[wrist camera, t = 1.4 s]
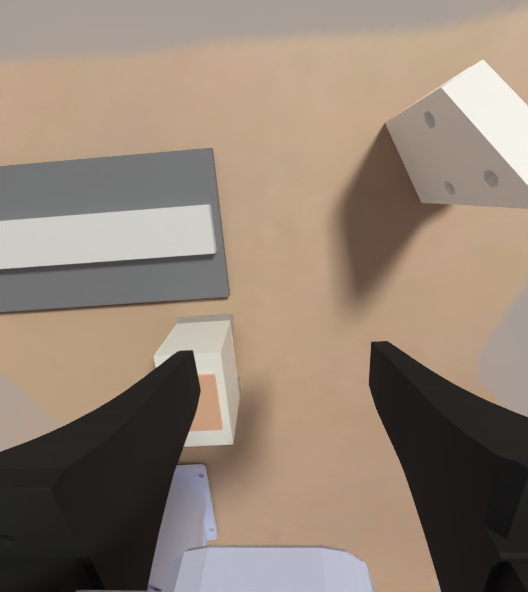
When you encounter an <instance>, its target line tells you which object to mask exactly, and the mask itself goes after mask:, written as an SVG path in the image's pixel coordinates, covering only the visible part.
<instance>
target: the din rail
mask: <svg viewBox="0 0 528 592" xmlns="http://www.w3.org/2000/svg"><path fill="white" fill-rule="evenodd" d="M229 296H230V291H229V283H228V274H227V265H226V257H225V248H224V240H223V231H222V223H221V214H220V206H219V197H218V189H217V180H216V171H215V163H214V154H213V149H212V148H205V149H193V150H182V151H170V152H159V153H147V154H136V155H124V156H113V157H101V158H90V159H78V160H67V161H55V162H44V163H32V164H21V165H9V166H0V312H9V311H24V310H39V309H54V308H69V307H83V306H98V305H113V304H128V303H143V302H157V301H172V300H187V299H202V298H217V297H229Z"/></svg>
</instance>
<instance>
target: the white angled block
mask: <svg viewBox="0 0 528 592" xmlns="http://www.w3.org/2000/svg"><path fill="white" fill-rule="evenodd" d="M385 124H386V127H387V129H388V131H389V133H390V135H391V138H392V140H393V142H394V144H395V146H396V148H397V151H398V153H399V155H400V157H401V159H402V162H403V164H404V166H405V168H406V170H407V173H408V175H409V177H410V179H411V181H412V183H413V186H414V188H415V190H416V192H417V194H418V197H419V199H420V201H421V203H433V204H452V205H471V206H489V207H508V208H527V209H528V106H527V105H526V104H525V102H524V101H523V100H522V99H521V98H520V97H519V96H518V95H517V94H516V93H515V92H514V91H513V90H512V89H511V88H510V87H509V86H508V85H507V84H506V83H505V82H504V81H503V80H502V79H501V78H500V77H499V76H498V75H497V74H496V73H495V71H494V70H493V69H492V68H491V67H490V66H489V65H488V64H487V63H486V62H485V61H484V60H482V61H480V62H478V63H477V64H475V65H474V66H472V67H469V68H467V69H466V70H464V71H463V72H461V73H460V74H458V75H456V76H455V77H453V78H452V79H450V80H449V81H447V82H445V83H444V84H442V85H441V86H439V87H438V88H436V89H435V90H433V91H432V92H430V93H429V94H427V95H426V96H424V97H423V98H421V99H420V100H418V101H417V102H415V103H414V104H412V105H411V106H409V107H408V108H406V109H405V110H403V111H402V112H400V113H399V114H397V115H396V116H394V117H393V118H391V119H390V120H388V121H387V122H385Z"/></svg>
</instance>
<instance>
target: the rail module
mask: <svg viewBox="0 0 528 592" xmlns="http://www.w3.org/2000/svg"><path fill="white" fill-rule="evenodd" d="M233 330H234V325H233V316H232V314H226V315H210V316H195V317H181V318H180V320H179V321H178V322H177V324H176V325H175V327H174V328H173V330H172V331H171V332H170V334H169V335H168V337H167V338H166V339H165V341H164V342H163V344H162V345H161V346H160V348H159V349H158V351H157V352H156V353H155V355H154V356H153V357H154V361H155V366H156V368H157V367H158V366H159V365H161V364H162V363H163V362H164V361H166V360H167V359H168V358H169V357H171V356H172V355H173V354H175V353H176V352H178V351H183V350H193V352H194V357H195V362H196V368H197V373H198V378H199V383H200V388H201V393H200V397H199V402H198V406H197V411H196V414H195V417H194V420H193V423H192V425H191V428H190V431H189V433H188V436H187V439H186V442H185V444H184V447H191V446H211V445H232V444H233V442H234V435H235V428H236V421H237V414H238V407H239V400H240V393H241V384H240V377H237V371H236V363H235V354H234V346H233V338H232V334H233Z"/></svg>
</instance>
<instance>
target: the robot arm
mask: <svg viewBox="0 0 528 592" xmlns="http://www.w3.org/2000/svg"><path fill="white" fill-rule="evenodd" d="M369 387H370V390H371V394H372V397H373V400H374V403H375V407H376V409H377V411H378V414H379V416H380V418H381V420H382V423H383V425H384V427H385V429H386V432H387V434H388V436H389V438H390V440H391V443H392V445H393V447H394V449H395V451H396V454H397V456H398V458H399V460H400V463H401V465H402V468H403V470H404V473H405V476H406V479H407V482H408V485H409V488H410V491H411V493H412V496H413V499H414V503H415V506H416V509H417V512H418V515H419V518H420V521H421V524H422V528H423V531H424V534H425V537H426V541H427V544H428V547H429V551H430V554H431V557H432V561H433V564H434V568H435V571H436V575H437V578H438V582H439V585H440V589H441V592H528V417H526V416H523V415H521V414H518V413H515V412H513V411H510V410H508V409H506V408H503V407H501V406H499V405H496V404H494V403H491V402H489V401H487V400H485V399H483V398H480V397H478V396H476V395H474V394H472V393H470V392H468V391H466V390H464V389H462V388H460V387H459V386H457V385H455V384H453V383H451V382H450V381H448V380H446V379H444V378H443V377H441V376H439V375H438V374H436V373H434V372H433V371H431V370H430V369H428V368H426V367H425V366H423V365H422V364H420V363H419V362H417V361H416V360H414V359H413V358H411V357H410V356H409V355H407V354H406V353H404V352H403V351H401V350H400V349H398V348H397V347H395V346H394V345H392V344H391V343H389V342H388V341H381V342H371V356H370V373H369ZM200 393H201V388H200V383H199V378H198V373H197V368H196V362H195V357H194V352H193V350H183V351H178V352H176V353H175V354H173V355H172V356H171V357H169V358H168V359H167V360H166V361H164V362H163V363H162V364H161V365H159V366H158V367H157V368H155V369H154V370H153V371H152V372H150V373H149V374H148V375H147V376H145V377H144V378H143V379H141V380H140V381H138V382H137V383H136V384H134V385H133V386H131V387H130V388H129V389H127V390H126V391H125V392H123V393H122V394H120V395H119V396H117V397H116V398H114V399H112V400H111V401H109V402H107V403H106V404H104V405H102V406H101V407H99V408H97V409H96V410H94V411H92V412H90V413H88V414H86V415H84V416H82V417H81V418H79V419H77V420H75V421H73V422H71V423H69V424H67V425H65V426H63V427H61V428H58V429H56V430H54V431H52V432H50V433H47V434H45V435H43V436H40V437H38V438H36V439H33V440H31V441H28V442H26V443H23V444H20V445H18V446H15V447H12V448H10V449H7V450H4V451H2V452H0V592H375V590H374V586H373V581H372V578H371V575H370V573H369V570H368V567H367V565H366V563H364V562H363V561H362V560H360V559H359V558H357V557H356V556H354V555H352V554H351V553H349V552H348V551H346V550H344V549H340V548H334V547H328V546H322V545H207V546H206V544H207V540H215V539H216V538H217V535H218V532H217V526H216V520H215V515H214V509H213V503H212V497H211V492H210V486H209V480H208V475H207V469H206V466H205V465H203V464H193V465H177V463H178V460H179V458H180V455H181V452H182V450H183V447H184V444H185V442H186V439H187V436H188V433H189V431H190V428H191V425H192V423H193V420H194V417H195V414H196V411H197V406H198V402H199V397H200Z"/></svg>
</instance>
